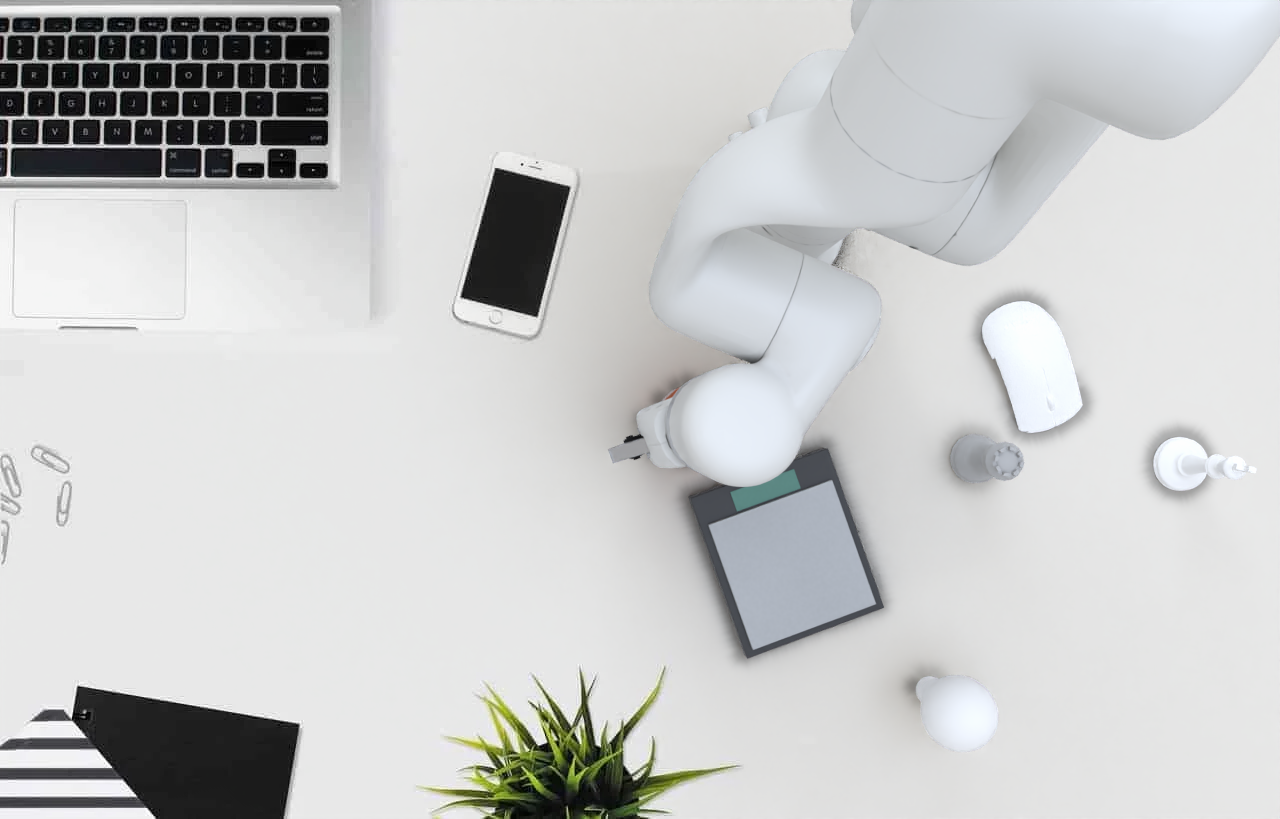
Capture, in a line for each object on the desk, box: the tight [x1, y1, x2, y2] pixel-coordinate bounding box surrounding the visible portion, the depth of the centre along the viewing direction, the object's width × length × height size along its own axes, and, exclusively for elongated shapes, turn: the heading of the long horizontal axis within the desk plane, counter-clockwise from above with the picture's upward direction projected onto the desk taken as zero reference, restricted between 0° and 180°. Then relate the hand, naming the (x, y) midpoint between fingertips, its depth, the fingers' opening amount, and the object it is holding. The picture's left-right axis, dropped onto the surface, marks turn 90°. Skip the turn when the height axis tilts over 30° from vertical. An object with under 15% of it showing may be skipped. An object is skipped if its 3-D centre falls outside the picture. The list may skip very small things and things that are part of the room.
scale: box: [688, 447, 885, 659], centre depth 88 cm, size 15×13×2 cm
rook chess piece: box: [949, 433, 1026, 484], centre depth 87 cm, size 4×4×8 cm
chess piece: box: [1152, 436, 1257, 492], centre depth 87 cm, size 5×5×10 cm
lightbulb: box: [915, 674, 999, 753], centre depth 85 cm, size 6×6×11 cm
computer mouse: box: [981, 300, 1084, 434], centre depth 90 cm, size 7×12×2 cm, turn 23°
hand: (693, 422), depth 88 cm, fingers closed on bowl, 6 cm apart
